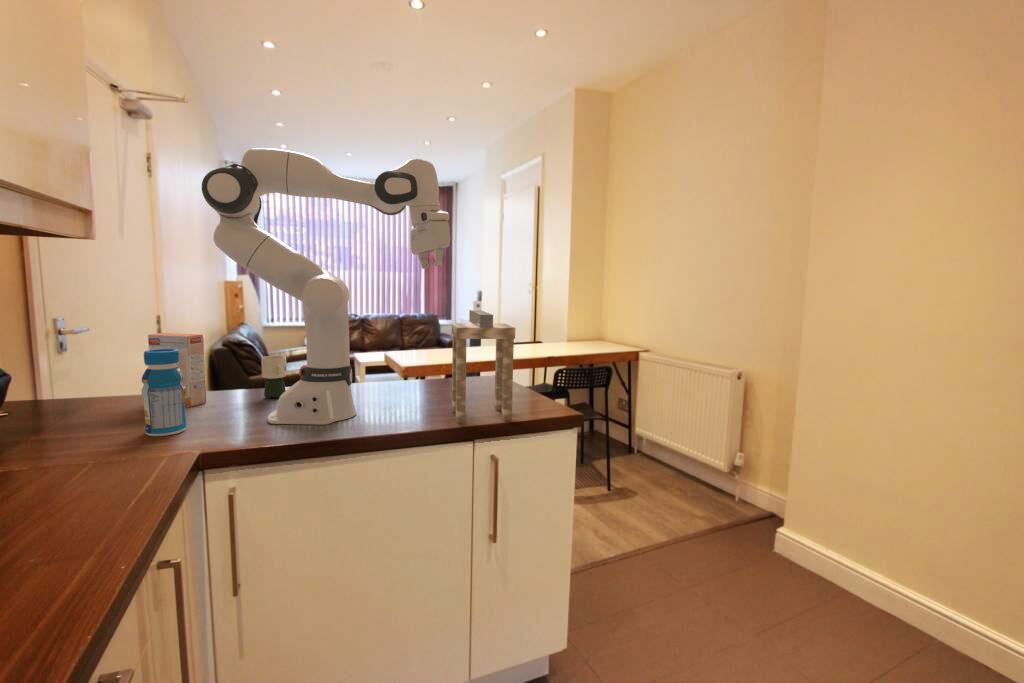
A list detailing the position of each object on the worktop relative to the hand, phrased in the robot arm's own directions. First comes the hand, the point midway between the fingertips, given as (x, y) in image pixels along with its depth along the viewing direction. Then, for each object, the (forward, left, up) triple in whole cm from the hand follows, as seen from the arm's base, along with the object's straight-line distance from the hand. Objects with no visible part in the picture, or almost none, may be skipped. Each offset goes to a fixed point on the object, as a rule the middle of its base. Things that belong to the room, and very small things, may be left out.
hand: (431, 267), depth 137 cm
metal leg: (+14, -4, -16) cm, 22 cm away
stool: (+14, -8, -42) cm, 45 cm away
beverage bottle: (-64, -13, -42) cm, 78 cm away
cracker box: (-73, +16, -42) cm, 86 cm away
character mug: (-48, +21, -42) cm, 67 cm away
